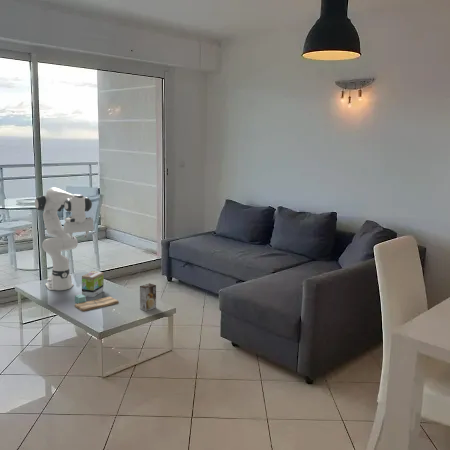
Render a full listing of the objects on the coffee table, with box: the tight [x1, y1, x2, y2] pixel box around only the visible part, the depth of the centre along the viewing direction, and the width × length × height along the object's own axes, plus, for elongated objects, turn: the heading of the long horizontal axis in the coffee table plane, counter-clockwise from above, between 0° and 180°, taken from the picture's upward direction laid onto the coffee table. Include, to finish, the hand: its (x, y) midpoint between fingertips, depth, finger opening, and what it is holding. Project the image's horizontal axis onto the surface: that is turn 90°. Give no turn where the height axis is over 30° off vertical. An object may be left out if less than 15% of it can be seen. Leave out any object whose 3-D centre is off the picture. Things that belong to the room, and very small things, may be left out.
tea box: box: [81, 270, 105, 298], centre depth 330 cm, size 15×10×15 cm
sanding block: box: [74, 293, 87, 304], centre depth 310 cm, size 6×5×5 cm
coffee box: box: [139, 283, 157, 312], centre depth 303 cm, size 9×6×16 cm
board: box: [74, 296, 120, 312], centre depth 308 cm, size 12×26×2 cm, turn 134°
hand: (79, 238), depth 310 cm, fingers open, 8 cm apart
